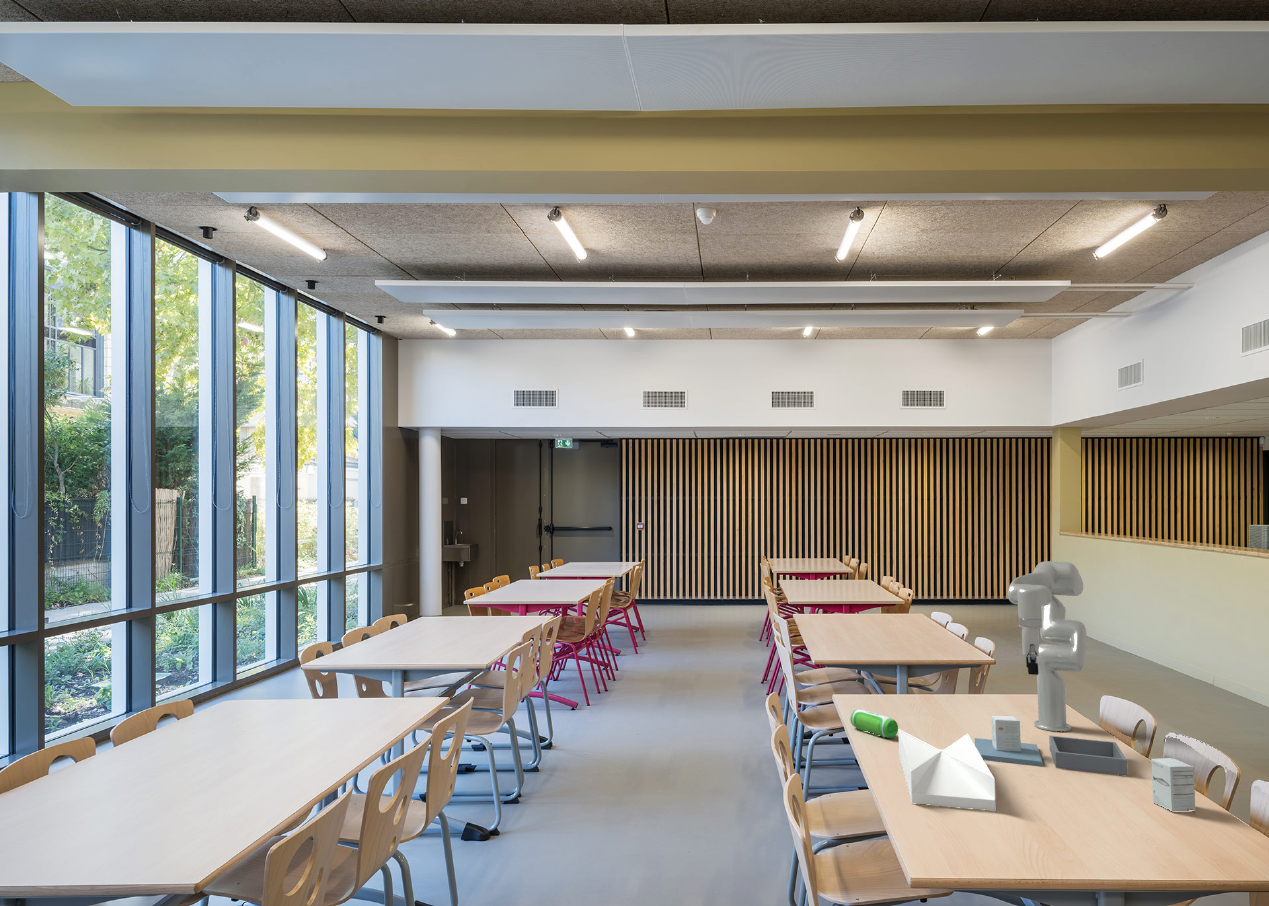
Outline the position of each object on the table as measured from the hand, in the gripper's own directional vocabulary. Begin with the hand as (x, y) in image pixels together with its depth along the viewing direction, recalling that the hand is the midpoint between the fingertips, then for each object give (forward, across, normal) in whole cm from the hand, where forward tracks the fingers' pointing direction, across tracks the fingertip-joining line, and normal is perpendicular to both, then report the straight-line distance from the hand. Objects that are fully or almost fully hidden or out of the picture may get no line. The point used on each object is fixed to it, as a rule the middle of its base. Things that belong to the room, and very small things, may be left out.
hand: (1032, 671), depth 276 cm
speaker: (+26, +6, -54) cm, 61 cm away
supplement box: (+25, +47, +32) cm, 62 cm away
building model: (+25, +50, -29) cm, 63 cm away
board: (+26, +13, -10) cm, 30 cm away
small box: (+25, +12, -10) cm, 29 cm away
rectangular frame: (+26, +12, +14) cm, 32 cm away
